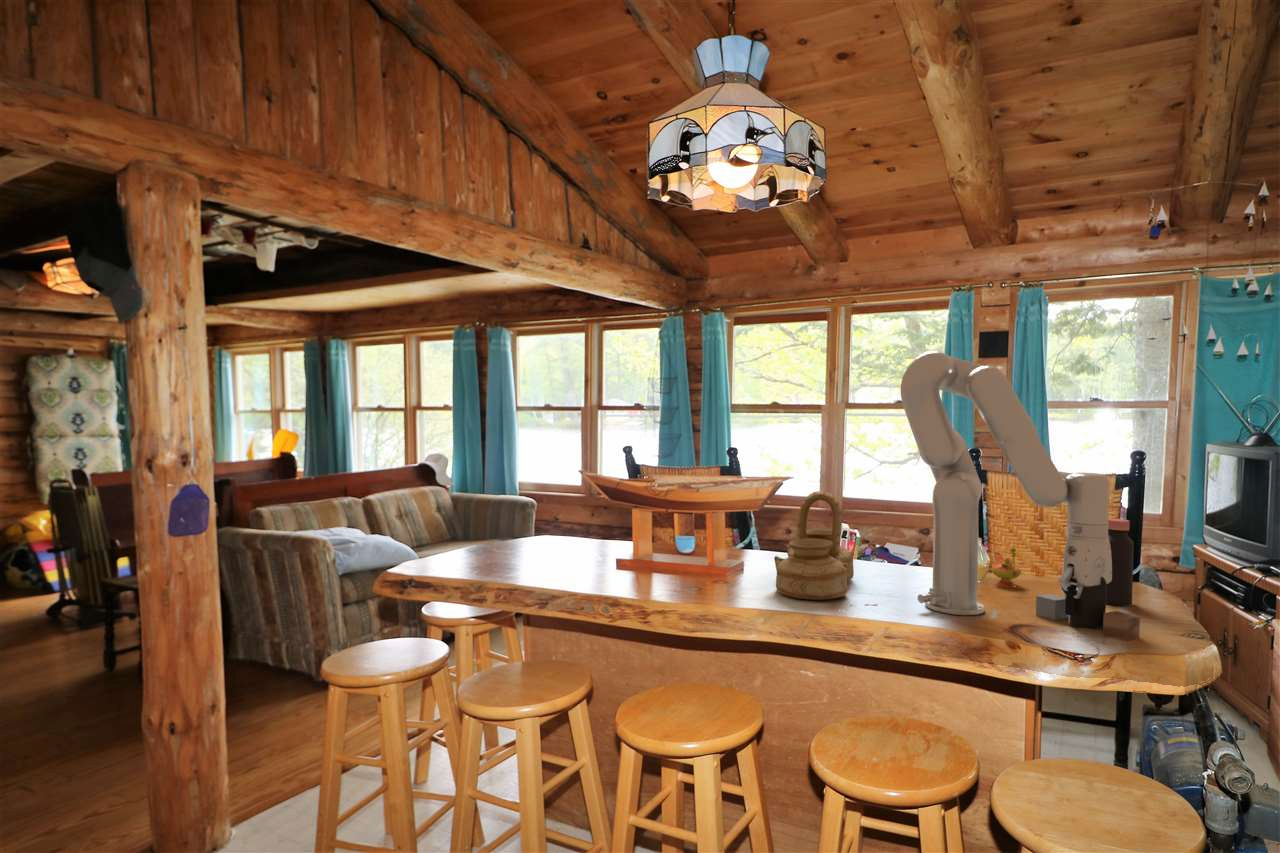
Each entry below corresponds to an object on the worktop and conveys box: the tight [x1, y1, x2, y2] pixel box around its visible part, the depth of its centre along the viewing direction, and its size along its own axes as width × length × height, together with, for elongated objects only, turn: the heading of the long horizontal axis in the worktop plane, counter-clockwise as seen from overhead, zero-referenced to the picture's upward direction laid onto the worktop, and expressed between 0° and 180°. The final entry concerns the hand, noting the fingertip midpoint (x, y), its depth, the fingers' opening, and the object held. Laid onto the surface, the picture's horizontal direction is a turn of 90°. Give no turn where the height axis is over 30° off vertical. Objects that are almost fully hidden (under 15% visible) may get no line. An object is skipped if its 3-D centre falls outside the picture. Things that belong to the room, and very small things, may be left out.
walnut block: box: [1102, 610, 1141, 642], centre depth 147 cm, size 4×4×4 cm
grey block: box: [1035, 593, 1069, 621], centre depth 161 cm, size 4×4×4 cm
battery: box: [1067, 577, 1107, 629], centre depth 154 cm, size 7×4×11 cm, turn 72°
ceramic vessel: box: [773, 490, 855, 601], centre depth 186 cm, size 34×18×25 cm, turn 160°
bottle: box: [1106, 517, 1135, 607], centre depth 172 cm, size 7×7×20 cm
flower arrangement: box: [991, 547, 1021, 588], centre depth 191 cm, size 7×18×11 cm, turn 167°
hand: (1084, 613), depth 154 cm, fingers closed on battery, 6 cm apart
